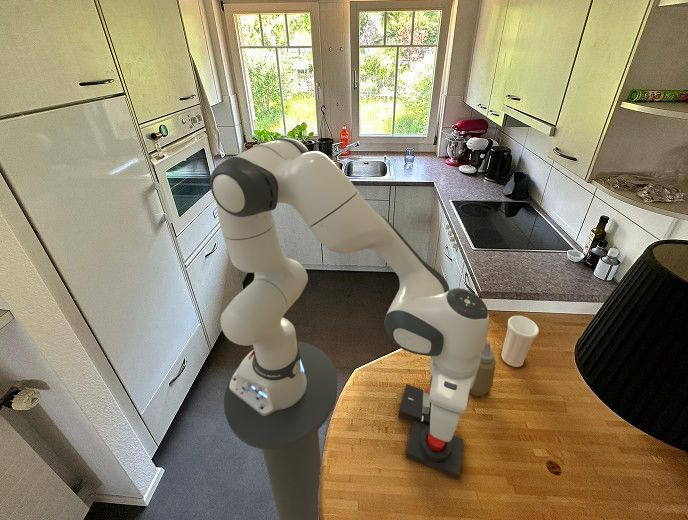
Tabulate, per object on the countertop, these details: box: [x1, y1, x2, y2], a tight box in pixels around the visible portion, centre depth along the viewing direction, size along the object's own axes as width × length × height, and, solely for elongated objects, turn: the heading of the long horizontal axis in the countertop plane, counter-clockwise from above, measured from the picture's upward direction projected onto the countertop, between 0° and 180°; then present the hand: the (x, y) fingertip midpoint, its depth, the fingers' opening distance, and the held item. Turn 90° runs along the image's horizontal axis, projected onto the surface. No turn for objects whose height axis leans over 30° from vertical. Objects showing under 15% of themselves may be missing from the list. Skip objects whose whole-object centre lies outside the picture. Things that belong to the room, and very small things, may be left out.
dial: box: [422, 387, 430, 414], centre depth 83 cm, size 5×2×3 cm, turn 168°
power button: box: [427, 432, 446, 452], centre depth 75 cm, size 4×4×2 cm
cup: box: [500, 315, 540, 368], centre depth 96 cm, size 8×8×14 cm
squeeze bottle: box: [470, 339, 497, 397], centre depth 87 cm, size 8×8×18 cm
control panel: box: [398, 383, 431, 426], centre depth 84 cm, size 12×9×3 cm
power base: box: [405, 420, 464, 481], centre depth 76 cm, size 12×8×4 cm, turn 68°
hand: (443, 407), depth 69 cm, fingers open, 4 cm apart
